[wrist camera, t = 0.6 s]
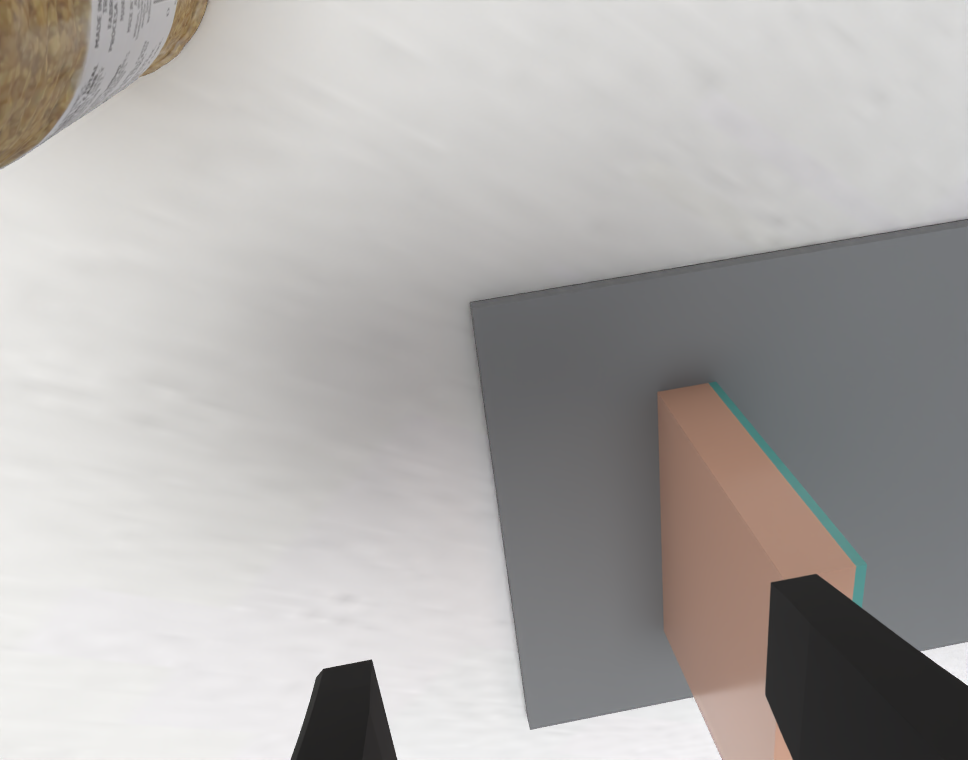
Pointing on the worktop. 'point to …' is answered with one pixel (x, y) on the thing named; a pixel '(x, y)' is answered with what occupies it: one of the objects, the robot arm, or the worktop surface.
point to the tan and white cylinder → (79, 59)
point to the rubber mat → (767, 406)
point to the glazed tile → (734, 560)
